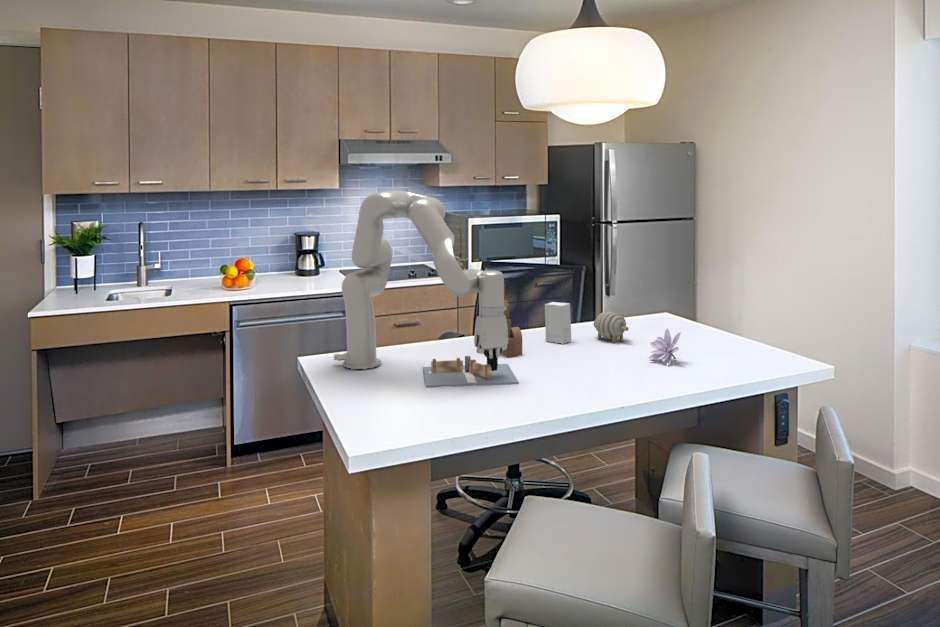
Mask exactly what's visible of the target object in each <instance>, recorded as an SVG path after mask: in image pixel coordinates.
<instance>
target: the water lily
mask: <svg viewBox="0 0 940 627" xmlns="http://www.w3.org/2000/svg"><path fill="white" fill-rule="evenodd" d="M681 334H682V333H681V331H680V332H678V333H676V335H675V336H674V337H673V339H672V336H671V333H670V330H669V329H668V328H666V329H665V331H664V337H661V336H657V337H656V339H655V340H654V341H651V342H650V343H649V345H650V346H651V347H652V348H653V349H656V350H652V351H650V354H651V355H650V356H649V357H648V358H649V360H648V361H653V360H657V359H659V358H661V357H662V358H661V361H662V362H664V363H665V365H666V364H667V363H668V364H669V366H670V365H671V363H672V357H673V359H677V358H676V356H675V355H674V353H677V352H678V351H679V347H677V346H676V344H677V343H678V341H679V339H680V336H681Z"/></svg>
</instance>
